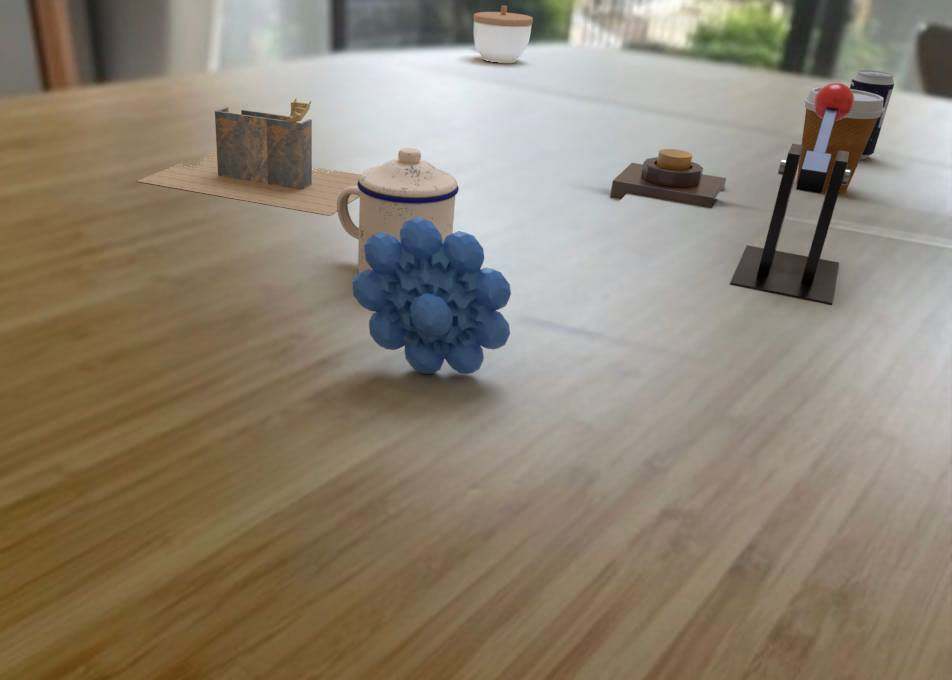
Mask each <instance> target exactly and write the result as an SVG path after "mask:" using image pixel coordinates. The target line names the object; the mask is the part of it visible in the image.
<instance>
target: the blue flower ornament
mask: <svg viewBox="0 0 952 680" xmlns="http://www.w3.org/2000/svg"><path fill="white" fill-rule="evenodd" d="M400 241H401V243H400V242H399V241H398V240H397V238H396V237H394V236H392V235H389V234H386V233H382V232H380V233H378V234H376V235H373V236H371V237H369V238H368V240H367V242H366V243H365V247H364V252H365V260H366V261H367V263H368V264H369V265H370V267H371V268H372V269H373V270H370V269H368V270H365V271H363V272H360V273H359V272H358V273H357V274H355V277H354V278H353V281H352V294H353V297H354V298H355V300H356V301H357V303H358V304H359V305H360V306H361V307H362V308H363V309H365V310H368V311H371V312H373V313H372V314H371V316H370V319H369V320H368V330H369V335H370V337H371V338H372V340H373V341H374V342H375V343H376V344H377V345H378V346H379V347H381V348H383V349H384V350H389V351H396V350H399V349H401V348H403V347H404V349H403V351H404V357H405V360H406V361H407V363H408V364H409V366H410V367H411V368H412V369H413V370H414V371H417V372H418V373H420V374H424V375H425V374H426V375H430V374H435V373H437V372H438V371H440V370H441V369H442V366H443V365H444V363H445V361H446V363H447V365H449V367H450V368H451V369H452V370H454V371H456V372H457V373H459V374H465V375H469V374H473V373H475V372H477V371H479V370H480V368H481V367H482V364H483V362H484V359H485V358H484V349H487V350H497V349H500V348H502V347H504V346H506V344H507V342H508V340H509V338H510V335H511V330H510V323H509V322H508V321H507V320H506V318H505V316H504V315H503V314H502V313H501V312H500V311H498V310H501V309H503V308H506V307H507V305H508V302H509V301H510V299H511V295H512V290H511V284H510V283H509V281H508V280H507V278H506V277H505V276H504V274H503V273H502V272H501V271H499V270H496V269H495V268H490V267H484V268H482V266H483V264H484V263H485V262H484V261H485V251H484V248H483V246H482V245H481V243H480V241H478V240H477V238H476V236H475V235H473V234H471V233H468V232H465V231H461V230H458V231H455V232H453V233H452V234H451V235H448V236H446V238H445V240H444V242H443V243H442V236H441V233H440V232H439V231H438V229H437V228H436V227H435V225H434V224H433V223H432V222H431V221H429V220H426V219H423V218H420V217H415V218H413V219H411V220H408V221H406V222H404V224H403V226H402V228H401V230H400ZM483 348H484V349H483Z"/></svg>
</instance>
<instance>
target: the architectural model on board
mask: <svg viewBox="0 0 952 680" xmlns="http://www.w3.org/2000/svg"><path fill="white" fill-rule="evenodd" d="M311 104H312V100H310V101H309V102H300V101H298V99H297V98H294V100H293V101H292V102H290V113H289V115H282V114H275V113H269V112H262V111H255V110H248V109H241V110H240V113H234V112H229V111H230V110H229V108H230V107H228V106H227V107H222V108H220V109H217V110H214V122H215V125H214V126H215V140H216V142H215V143H216V150H209V151H210V152H211V151H213V152H214V153H213V152H211V153H210V152H209V151H208V152H209V153H210V154H208V153H207V155H211V157H210V156H208V157H209V159H207V158H208V157H206V156H205V157H203V158H205V159H203V162H202V161H200V162H201V163H200V166H199V165H197V166H196V167H197V168H196V167H194V166H195V165H194V166H192V165H190V166H192V167H194V168H192V167H190V166H189V167H190V168H189V167H187V166H184V167H183V166H181V165H183V164H180V163H177V164H175V165H173V166H174V167H173V166H170V167H168V168H169V169H167V168H165V169H163V170H159V171H158V172H156V173H155V172H154V173H153V174H150V175H148V176H145V177H143V178H141V179H138V180H137V182H139V183H144V184H150V185H156V186H161V187H162V186H163V187H168V188H173V189H179V190H184V191H189V192H196V193H201V194H206V195H212V196H216V197H217V196H219V197H224V198H230V199H236V200H239V201H240V200H241V201H245V202H246V201H247V202H252V203H258V204H264V205H268V206H274V207H280V208H285V209H291V210H297V211H304V212H307V213H314V214H318V215H319V214H320V215H326V216H332V215H333V214H334V213H336V212H337V200H338V196H339V194H340V193H341V192H342V191H343V190H344V189H346V188H348V187H351V186H357V183H358V180H359V177H360V176H361V174H358V173H354V172H353V173H352V172H346V171H340V170H334V169H328V170H326V169H327V168H321V167H317V168H318V169H315V168H314V170H317V171H314V170H312V167H313V166H312V165H313V164H312V162H313V160H312V159H313V157H312V156H313V154H312V153H313V152H312V151H313V149H312V147H313V144H312V143H313V140H312V139H313V137H312V136H313V135H312V134H313V132H312V131H313V129H312V128H313V125H312V124H313V122H312V121H313V120H312V119H311V118H310V119H306V120H304V121H302V120H303V119H304V118H305V116H306V115H307V113H308V112H309V111H310V109H311ZM301 121H302V122H301ZM214 154H215V155H214ZM212 155H213V156H212ZM211 158H212V159H211ZM209 161H210V162H209ZM179 164H180V165H179ZM187 164H188V163H187ZM197 164H199V163H197ZM201 164H202V165H201ZM178 165H179V166H178ZM176 166H178V167H176ZM180 166H181V167H180ZM185 167H186V168H185ZM187 168H188V169H187ZM319 169H320V170H319ZM322 170H324V171H322ZM329 170H330V171H329ZM331 170H333V172H332V171H331ZM328 171H329V173H327V172H328ZM338 171H339V172H338ZM314 173H315V174H314ZM357 198H360V196H358V195H353V194H351V195H350V196H349V198H348V204H350V203H351V202H353V201H355V200H356V199H357Z"/></svg>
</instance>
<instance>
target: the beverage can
mask: <svg viewBox="0 0 952 680" xmlns="http://www.w3.org/2000/svg"><path fill="white" fill-rule="evenodd" d="M894 76H895V75H894V74H893V73H890V72H887V71H880V70H873V69H858V70H857V71H856V74H855V76H854V77H853V78H852V79H851V81H850V85H849V88H850V89H853V90H859V91H865V92H869V93H873V94H877V95H879V96H881V97H883V98H884V101H883V108H884V109H885V110H884V112H883V113H881V116H880V117H878V119H877V121H876V124H875V126H874V129H873V131H872V133H871V135H870V138H869V140H868V142H867V145H866V147H865V149H864V151H863V154H862V156H861V158H860V160H867V158H868V157H871V155H873V154H874V153H875V149H876V147H877V143H878V140H879V137H880V133H881V130H882V127H883V123H884V120H885V117H886V114H887V110H888V107H889V104H890V100H891V98H892V94H893V90H894V86H895V83H894Z"/></svg>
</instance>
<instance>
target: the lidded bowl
mask: <svg viewBox="0 0 952 680" xmlns="http://www.w3.org/2000/svg"><path fill="white" fill-rule="evenodd" d="M533 21H534V18H533V16H530V15H528V14H527V15H526V14H521V13H516V12H515V13H513V12H508V5H501V7H500V11H480V12H475V13H474V14H473V30H472V32H473V34H472V35H473V42H474V46H475V48H476V51H477V52H478V53H479V55H480V56H481V58H482V60H483V59H485V60H488V61H493V62H498V63H497V64H514V63H516V62H517V60H518V59H519V58H521V56H523V54H524V53H525V51H526V49H527V47H528V45H529V42H530V39H531V33H532V25H533V23H534V22H533Z"/></svg>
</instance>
